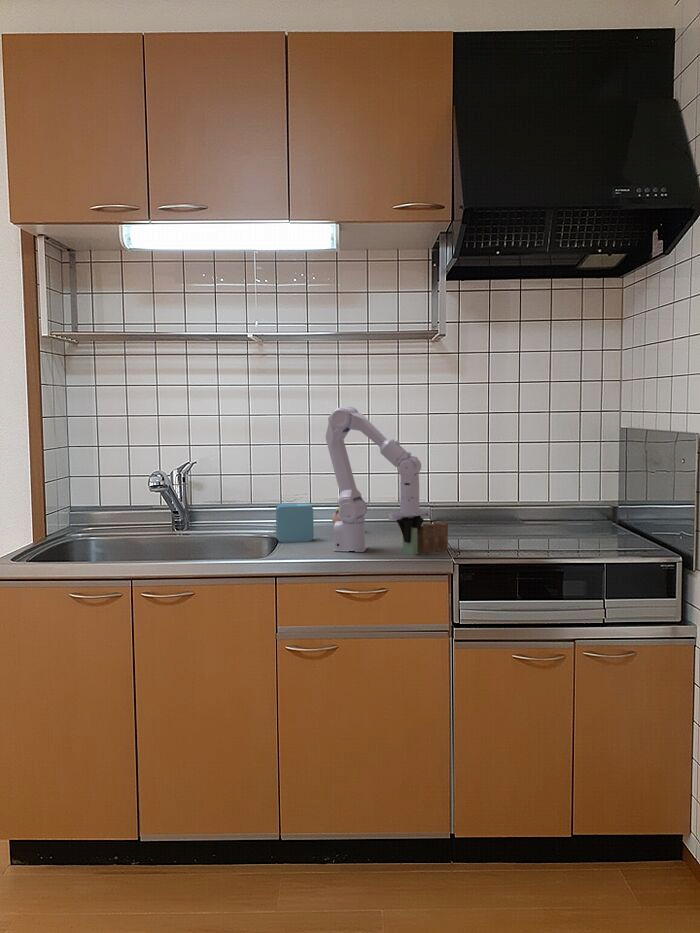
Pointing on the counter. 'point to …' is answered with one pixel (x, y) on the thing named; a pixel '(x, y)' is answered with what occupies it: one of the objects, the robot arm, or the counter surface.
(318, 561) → the counter surface
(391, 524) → the counter surface
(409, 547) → the green domino
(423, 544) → the walnut domino
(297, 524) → the blue square slab
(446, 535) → the walnut domino
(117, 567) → the counter surface
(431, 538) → the walnut domino
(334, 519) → the decorative fruit
